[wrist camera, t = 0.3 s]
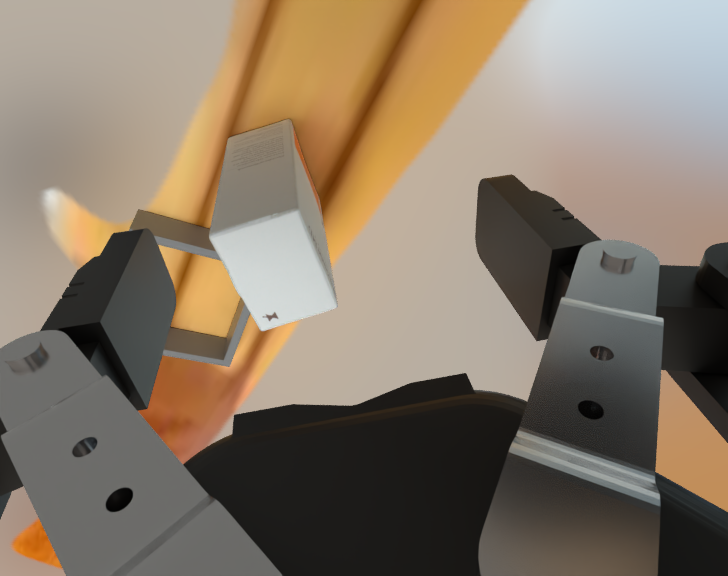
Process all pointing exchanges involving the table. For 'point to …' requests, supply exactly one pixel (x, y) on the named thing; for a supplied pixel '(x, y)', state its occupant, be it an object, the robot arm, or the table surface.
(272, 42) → the table surface
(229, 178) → the skincare box
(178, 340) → the frame
